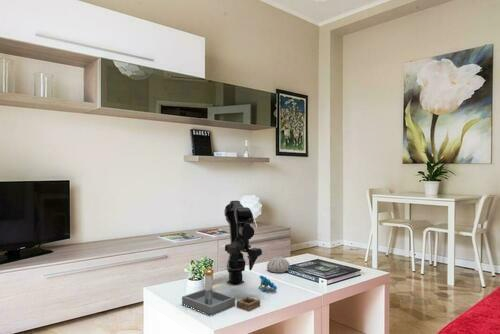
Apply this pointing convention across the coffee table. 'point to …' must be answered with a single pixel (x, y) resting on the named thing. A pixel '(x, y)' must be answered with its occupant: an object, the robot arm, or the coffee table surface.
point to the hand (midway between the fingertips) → (243, 268)
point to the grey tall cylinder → (208, 286)
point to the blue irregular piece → (266, 283)
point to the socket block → (248, 303)
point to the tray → (218, 304)
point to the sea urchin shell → (278, 265)
